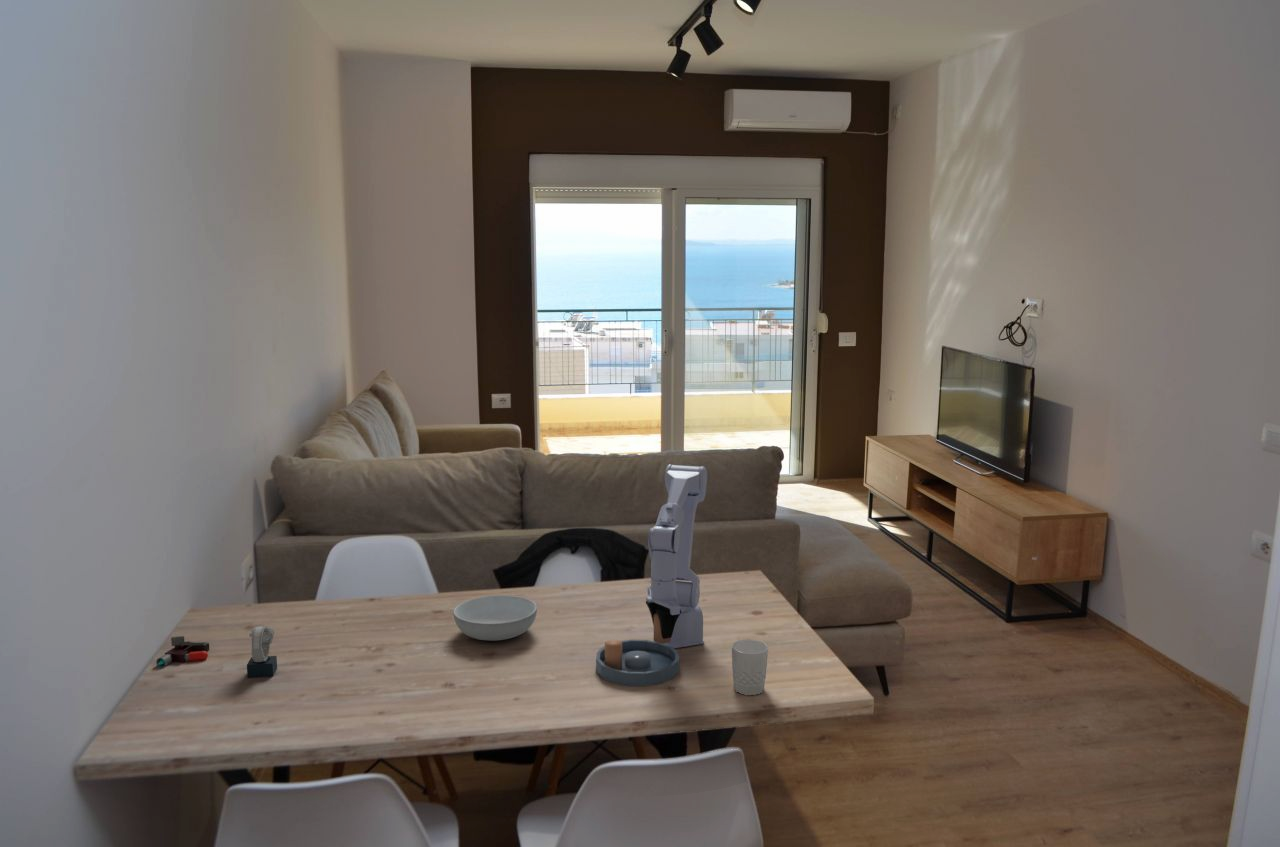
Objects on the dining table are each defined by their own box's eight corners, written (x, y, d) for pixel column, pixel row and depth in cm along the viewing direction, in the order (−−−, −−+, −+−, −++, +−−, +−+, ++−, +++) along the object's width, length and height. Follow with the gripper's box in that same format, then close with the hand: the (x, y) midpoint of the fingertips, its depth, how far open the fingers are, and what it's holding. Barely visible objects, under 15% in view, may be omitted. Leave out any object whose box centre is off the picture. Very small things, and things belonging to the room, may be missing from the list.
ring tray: (659, 647, 233) (659, 635, 233) (691, 678, 216) (692, 665, 215) (585, 658, 226) (585, 646, 226) (612, 691, 209) (612, 678, 208)
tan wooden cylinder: (618, 663, 221) (618, 638, 220) (624, 669, 218) (624, 645, 217) (602, 665, 220) (602, 641, 219) (608, 672, 216) (608, 647, 215)
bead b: (667, 635, 223) (667, 611, 222) (673, 642, 219) (673, 617, 218) (651, 638, 221) (651, 613, 220) (657, 644, 218) (657, 619, 217)
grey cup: (743, 700, 205) (744, 656, 204) (724, 685, 212) (725, 643, 211) (774, 692, 209) (775, 649, 207) (753, 678, 216) (754, 637, 214)
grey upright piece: (279, 665, 222) (276, 620, 220) (271, 679, 214) (268, 633, 212) (253, 666, 221) (250, 621, 219) (245, 681, 213) (241, 634, 211)
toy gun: (151, 669, 220) (149, 649, 219) (185, 648, 232) (183, 629, 231) (189, 672, 218) (187, 652, 218) (221, 651, 230) (219, 632, 229)
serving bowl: (527, 615, 254) (527, 590, 253) (545, 644, 235) (545, 618, 233) (448, 624, 248) (448, 598, 247) (460, 655, 228) (459, 627, 227)
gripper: (635, 570, 223) (635, 625, 225) (659, 589, 210) (659, 648, 212) (663, 566, 225) (663, 621, 228) (688, 585, 212) (688, 643, 214)
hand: (663, 634), depth 220 cm, fingers closed on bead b, 4 cm apart
